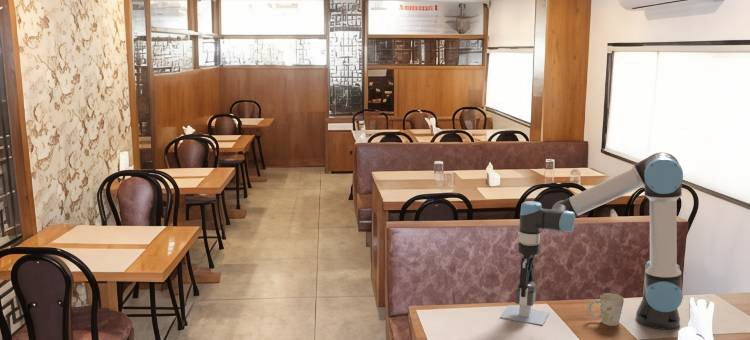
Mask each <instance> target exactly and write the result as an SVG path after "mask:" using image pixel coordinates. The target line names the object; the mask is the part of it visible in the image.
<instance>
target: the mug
mask: <svg viewBox="0 0 750 340" xmlns="http://www.w3.org/2000/svg"><path fill="white" fill-rule="evenodd" d="M624 301H625V299H624V297H623V296H622V295H621V294H617V293H609V292H608V293H607V292H606V293H602V294H600V296H599V299H593V300H591V301H589V302H588V304H587V310H586V311H587V312H588V314H589V315H590V316H592V317H594V318H601V319H600V320H601V323H602V324H603V325H605V326H606V325H607V326H610V327H616V326H618V325H620V319H621V315H622V310H623V306H624ZM594 304H599V305H600V314H595V313H594V312H593V311H592V306H593V305H594Z"/></svg>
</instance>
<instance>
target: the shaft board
mask: <svg viewBox="0 0 750 340" xmlns="http://www.w3.org/2000/svg"><path fill="white" fill-rule="evenodd" d="M549 315H550V311H544V310H539V309H532V306H529V305H522V304H519V306H516V305H510V304H508V305H507V306H506V308H505V309H504V311H502V314H500V316H499V318H500V319H503V318H504V320H508V321H509V320H510V321H516V322H519V323H520V322H521V323H526V324H532V325H537V326H544V324H545V323H546V320H547V319H548V317H549Z"/></svg>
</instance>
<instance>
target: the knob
mask: <svg viewBox="0 0 750 340" xmlns="http://www.w3.org/2000/svg"><path fill="white" fill-rule="evenodd" d="M519 282H520V280H519V281H517V282H516V289H515V300H514V301H515V302H514V304H516V305H517V304H518V305H520V304H519V301H520V288H518V286H519ZM527 288H528V296H527V305H529V306H531V307H533V305H534V304H535V302H536V297H537V296H536V293H537V284H536V282H534V281H532V282H530V281H528V285H527Z"/></svg>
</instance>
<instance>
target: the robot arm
mask: <svg viewBox="0 0 750 340" xmlns="http://www.w3.org/2000/svg"><path fill="white" fill-rule="evenodd" d="M683 178H684V171H683V168H682V167H681V165H680V163H679V160H678V159H677V158H676V157H675V156H674V155H673V154H671V153H668V152H656V153H653V154H651V155H650V156H648V157H646V158H643V159H642V160H640V161H638V162H635V163H634V164H632V168H630V169H628V170H626V171H624V172H622V173H619V174H617V175H614V176H613V177H610V178H608V179H607V180H604V181H603V182H600V183H599V184H595V185H594V186H592V187H590V188H587V189H585V190H583V191H580V192H579V193H576V194H574V195H572V196H570V197H569V198H566V199H563V200H559V201H557V202H555V203H554V204H553V205H552V207H551V209H549V208H543V207H542V203H541V202H540V201H535V200H534V201H532V200H529V201H524V202H522V203H521V204H520V205H521V206H520V213H519V228H518V229H519V232H517V236H518V241H519V242H518V247H517V249H518V250H517V252H518V253H519V254H521V255H523V257H521V261H520V270H519V271H520V272H519V281H520V282H519V281H518V282H519V286H518V288H520V301H519V304H518V305H520V304H522V305H527V296H528V288H527V285H528V281H530V282H535V280H536V279H535V278H534V277H535V257H536V256H537V255H538V254H539V252H540V244H539V243H540V242H541V241H540V238H541V237H540V236H541V230H548V231H549V230H550V231H557V232H563V233H565V232H567V233H568V232H569V233H571V232H573V231H574V228H575V220H576V217H579V216H581V215H583V214H585V213H586V212H589V211H592V210H593V209H596V208H598V207H600V206H601V207H602V206H603V205H605V204H607V203H609V202H612V201H615V200H617V199H618V198H621V197H623V196H625V195H627V194H630V193H632V192H635V191H636V190H638V189H641V188H644V196H645V197H646V198H647V199H648V200H649V260H648V261H646V263H645V266H644V269H645V270H644V277H643V279H644V281H643V292H642V299H641V301H640V303H639V306H638V308H637V309H636V312H635V313H636V314H635V319H636V321H637V322H638V323H640V324H642V325H643V326H646V327H647V326H648V327H650V328H653V329H654V328H655V329H659V330H660V329H661V330H671V329H672V328H673V329H677V328H678V327H680V323H681V317H680V313H679V310H678V308H679V307H680V306H681V305H682V303H683V299H684V295H683V291H682V270H681V269H680V265H679V264H677V261H678V259H677V258H678V257H677V255H678V254H677V253H678V251H677V247H678V246H677V245H678V244H677V240H678V239H677V238H678V237H677V234H678V233H677V228H678V225H677V224H678V223H677V221H678V219H677V218H678V217H677V215H678V214H677V213H678V211H677V210H678V208H677V207H678V203H677V201H678V200H679V199H680V198H681V197H682V196H683V195H682V191H683V190H682V184H683V180H684V179H683ZM676 327H677V328H676ZM673 329H672V330H673Z"/></svg>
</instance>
